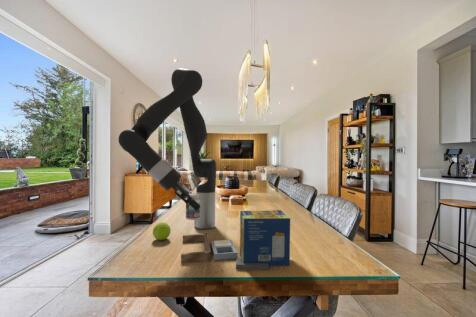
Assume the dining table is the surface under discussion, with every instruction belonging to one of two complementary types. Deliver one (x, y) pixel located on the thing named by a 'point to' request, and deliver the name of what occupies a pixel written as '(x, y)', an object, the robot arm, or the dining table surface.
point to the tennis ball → (161, 231)
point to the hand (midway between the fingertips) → (198, 206)
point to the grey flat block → (251, 265)
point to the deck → (223, 250)
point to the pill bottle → (190, 211)
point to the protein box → (265, 237)
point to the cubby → (196, 255)
